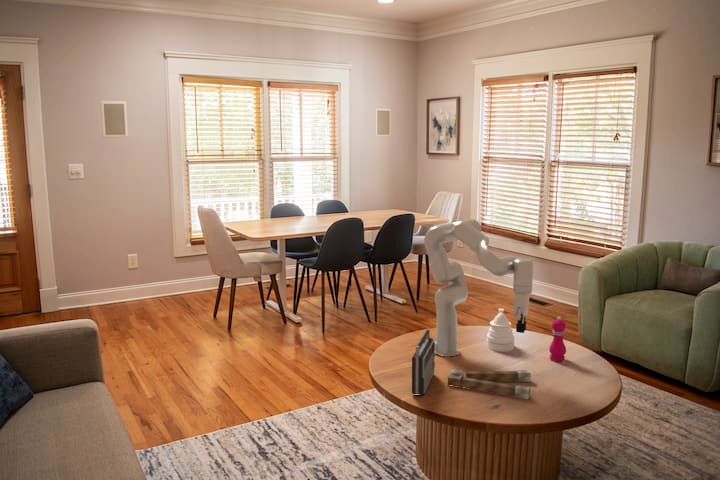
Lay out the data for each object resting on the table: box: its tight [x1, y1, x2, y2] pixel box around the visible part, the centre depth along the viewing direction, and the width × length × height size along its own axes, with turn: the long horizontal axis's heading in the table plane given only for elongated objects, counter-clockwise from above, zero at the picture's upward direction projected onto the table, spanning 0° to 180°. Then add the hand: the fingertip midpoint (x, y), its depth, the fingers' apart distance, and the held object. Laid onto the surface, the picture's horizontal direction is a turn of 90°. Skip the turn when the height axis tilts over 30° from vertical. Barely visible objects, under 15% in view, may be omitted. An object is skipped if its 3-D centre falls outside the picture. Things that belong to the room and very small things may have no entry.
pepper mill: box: [548, 316, 567, 363], centre depth 270 cm, size 7×7×20 cm
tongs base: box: [447, 369, 531, 400], centre depth 242 cm, size 32×8×4 cm, turn 64°
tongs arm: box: [465, 369, 532, 383], centre depth 249 cm, size 26×3×4 cm, turn 89°
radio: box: [411, 328, 436, 396], centre depth 245 cm, size 24×5×20 cm, turn 163°
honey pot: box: [486, 308, 515, 352], centre depth 287 cm, size 13×13×18 cm
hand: (521, 330), depth 253 cm, fingers closed
